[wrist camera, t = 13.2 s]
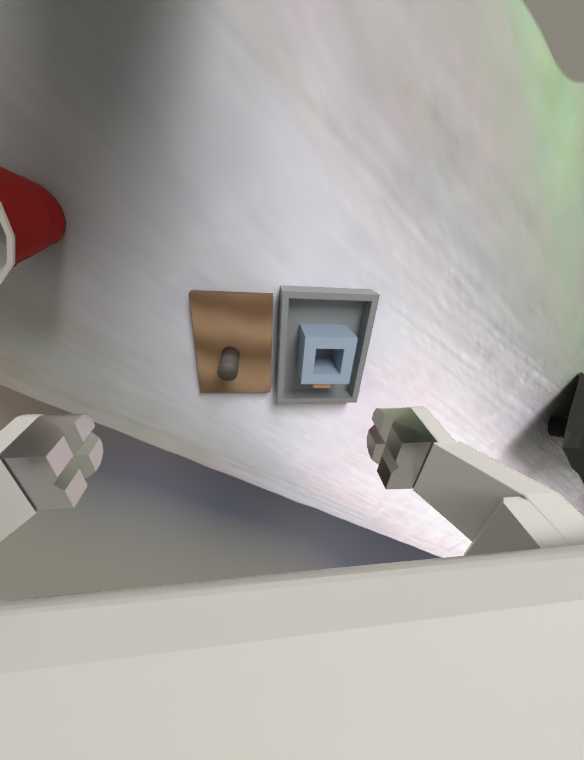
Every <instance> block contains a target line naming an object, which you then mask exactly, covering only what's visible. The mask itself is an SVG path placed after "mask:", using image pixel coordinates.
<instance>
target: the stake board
mask: <svg viewBox="0 0 584 760" xmlns="http://www.w3.org/2000/svg"><path fill="white" fill-rule="evenodd" d="M189 298H190V306H191V315H192V324H193V332H194V341H195V350H196V358H197V367H198V375H199V384H200V393H209V392H270V384H271V351H272V318H273V293H249V292H224V291H199V290H191V291H190V292H189Z"/></svg>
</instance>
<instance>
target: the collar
mask: <svg viewBox="0 0 584 760" xmlns="http://www.w3.org/2000/svg"><path fill="white" fill-rule="evenodd" d="M357 340H358V338H357V337H356V335H355V334H354V333H353V332H352V331H351V330H350V328H349V327H348V326H347V325H335V324H300V326H299V338H298V351H297V363H296V368H297V371H298V375H299V378H300V382H301V384H312V386H313V388H330V385H331V384H349V382H350V377H351V371H352V366H353V361H354V356H355V351H356V345H357ZM316 349H332V356H331V358H315V354H316Z"/></svg>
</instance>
